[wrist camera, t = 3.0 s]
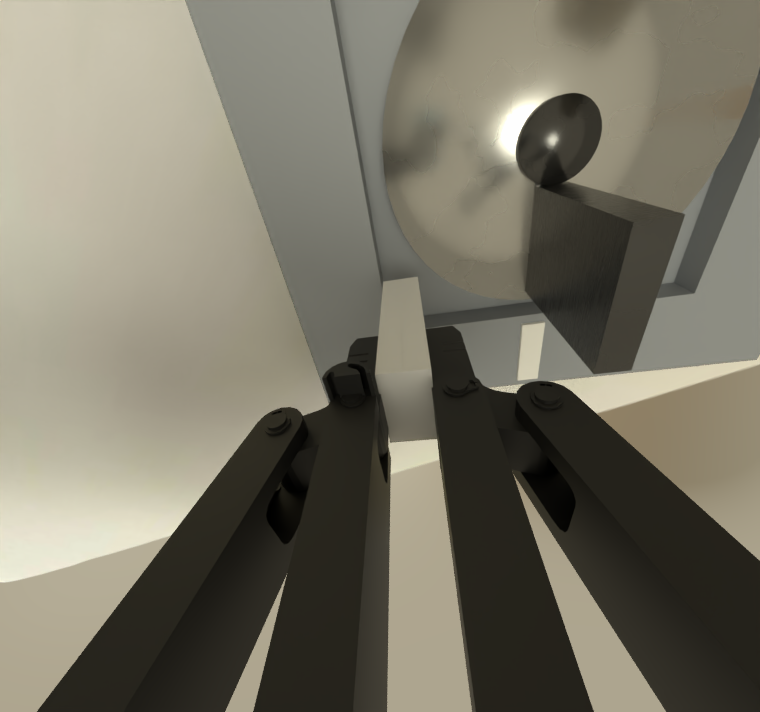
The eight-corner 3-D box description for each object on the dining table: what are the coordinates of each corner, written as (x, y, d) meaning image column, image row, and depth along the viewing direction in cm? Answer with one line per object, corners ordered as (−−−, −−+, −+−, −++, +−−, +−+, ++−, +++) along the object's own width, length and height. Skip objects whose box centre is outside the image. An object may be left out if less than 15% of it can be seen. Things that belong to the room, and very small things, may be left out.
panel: (335, 376, 24) (328, 406, 22) (127, -273, 10) (32, -418, 7) (714, 333, 21) (759, 361, 19) (1237, -733, 7) (1795, -1306, 4)
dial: (404, 305, 19) (409, 403, 12) (352, -57, 11) (286, -367, 4) (662, 269, 17) (842, 360, 10) (818, -193, 9) (2010, -1104, 2)
